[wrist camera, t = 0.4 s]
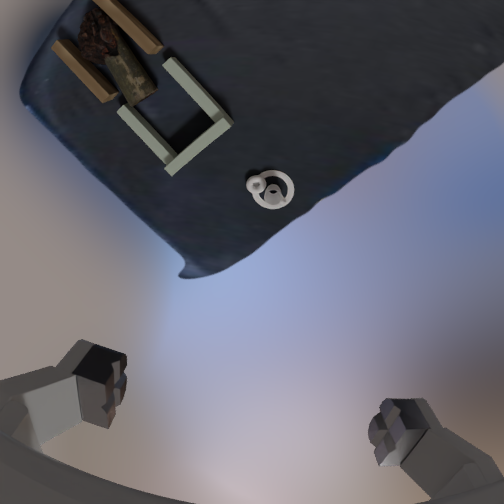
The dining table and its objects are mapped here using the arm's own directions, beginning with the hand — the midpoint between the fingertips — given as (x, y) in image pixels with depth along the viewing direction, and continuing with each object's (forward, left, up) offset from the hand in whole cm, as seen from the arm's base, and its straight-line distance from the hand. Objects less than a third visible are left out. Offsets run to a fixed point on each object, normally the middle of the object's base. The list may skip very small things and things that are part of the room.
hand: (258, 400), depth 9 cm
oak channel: (+14, -30, -51) cm, 61 cm away
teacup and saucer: (+8, +10, -52) cm, 53 cm away
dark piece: (+14, -26, -52) cm, 60 cm away
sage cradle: (+14, -11, -51) cm, 54 cm away
